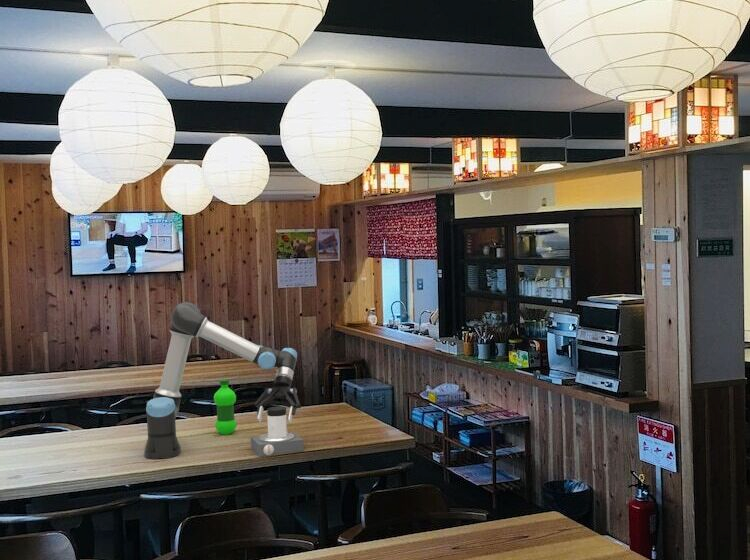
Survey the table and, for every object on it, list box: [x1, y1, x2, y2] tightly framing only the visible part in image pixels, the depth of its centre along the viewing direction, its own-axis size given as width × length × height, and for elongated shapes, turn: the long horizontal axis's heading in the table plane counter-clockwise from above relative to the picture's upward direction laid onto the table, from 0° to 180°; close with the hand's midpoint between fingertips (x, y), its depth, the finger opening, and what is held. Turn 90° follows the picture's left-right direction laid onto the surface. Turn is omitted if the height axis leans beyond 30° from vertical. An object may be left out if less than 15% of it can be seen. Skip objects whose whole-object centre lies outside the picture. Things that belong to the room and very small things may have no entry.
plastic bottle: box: [213, 379, 237, 435], centre depth 381 cm, size 10×10×25 cm
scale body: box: [250, 431, 304, 458], centre depth 348 cm, size 19×17×5 cm
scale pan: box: [258, 432, 294, 443], centre depth 348 cm, size 15×15×1 cm
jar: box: [266, 406, 288, 439], centre depth 348 cm, size 9×8×12 cm
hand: (274, 420), depth 345 cm, fingers open, 13 cm apart
